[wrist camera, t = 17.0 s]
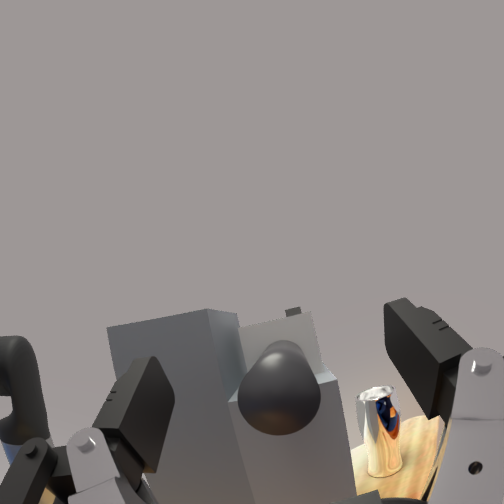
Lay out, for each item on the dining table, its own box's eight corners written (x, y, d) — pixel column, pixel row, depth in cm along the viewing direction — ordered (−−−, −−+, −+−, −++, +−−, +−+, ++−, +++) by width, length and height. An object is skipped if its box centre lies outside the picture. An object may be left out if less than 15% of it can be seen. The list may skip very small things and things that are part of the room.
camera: (218, 444, 13) (188, 317, 14) (260, 372, 35) (248, 319, 37) (356, 417, 12) (328, 286, 14) (315, 359, 35) (303, 307, 36)
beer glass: (381, 456, 40) (371, 385, 44) (412, 459, 35) (404, 383, 38) (356, 475, 36) (344, 400, 40) (389, 481, 31) (380, 401, 35)
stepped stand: (194, 576, 17) (106, 327, 25) (220, 517, 31) (166, 327, 39) (363, 560, 16) (315, 283, 24) (344, 499, 30) (304, 297, 38)
